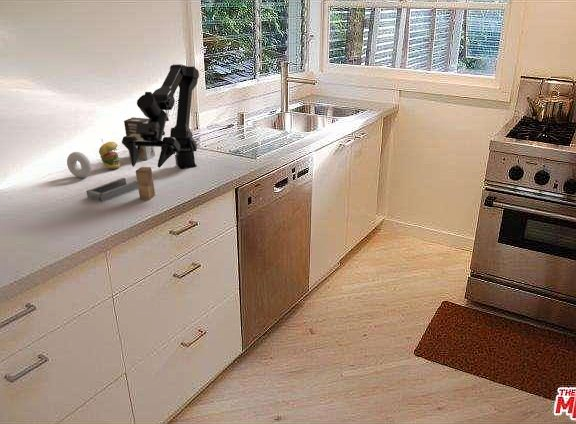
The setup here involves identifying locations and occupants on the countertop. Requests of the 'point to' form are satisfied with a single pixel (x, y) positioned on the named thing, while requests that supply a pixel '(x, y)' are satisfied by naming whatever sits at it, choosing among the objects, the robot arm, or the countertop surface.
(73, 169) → the donut
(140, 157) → the coffee box
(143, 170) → the brown wooden block
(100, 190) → the grey tray
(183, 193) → the countertop surface
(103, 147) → the hamburger
